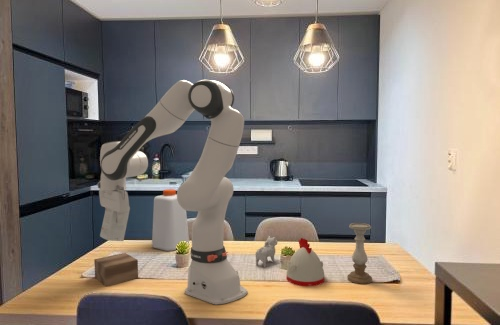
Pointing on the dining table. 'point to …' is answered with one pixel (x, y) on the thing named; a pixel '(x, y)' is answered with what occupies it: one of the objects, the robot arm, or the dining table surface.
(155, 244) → the plastic bottle
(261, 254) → the dog figurine
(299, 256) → the kitchen timer
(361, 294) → the dining table surface
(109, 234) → the small box
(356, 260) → the candle holder
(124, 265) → the walnut block
